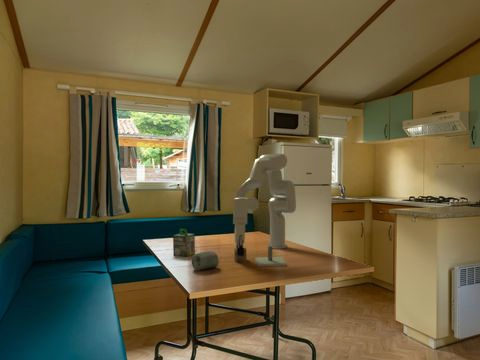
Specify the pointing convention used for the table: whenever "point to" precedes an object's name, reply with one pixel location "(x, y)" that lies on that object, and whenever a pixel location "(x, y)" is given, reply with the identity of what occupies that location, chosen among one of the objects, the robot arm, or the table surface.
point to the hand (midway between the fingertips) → (239, 253)
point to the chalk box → (184, 244)
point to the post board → (270, 260)
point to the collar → (239, 258)
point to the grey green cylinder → (204, 260)
